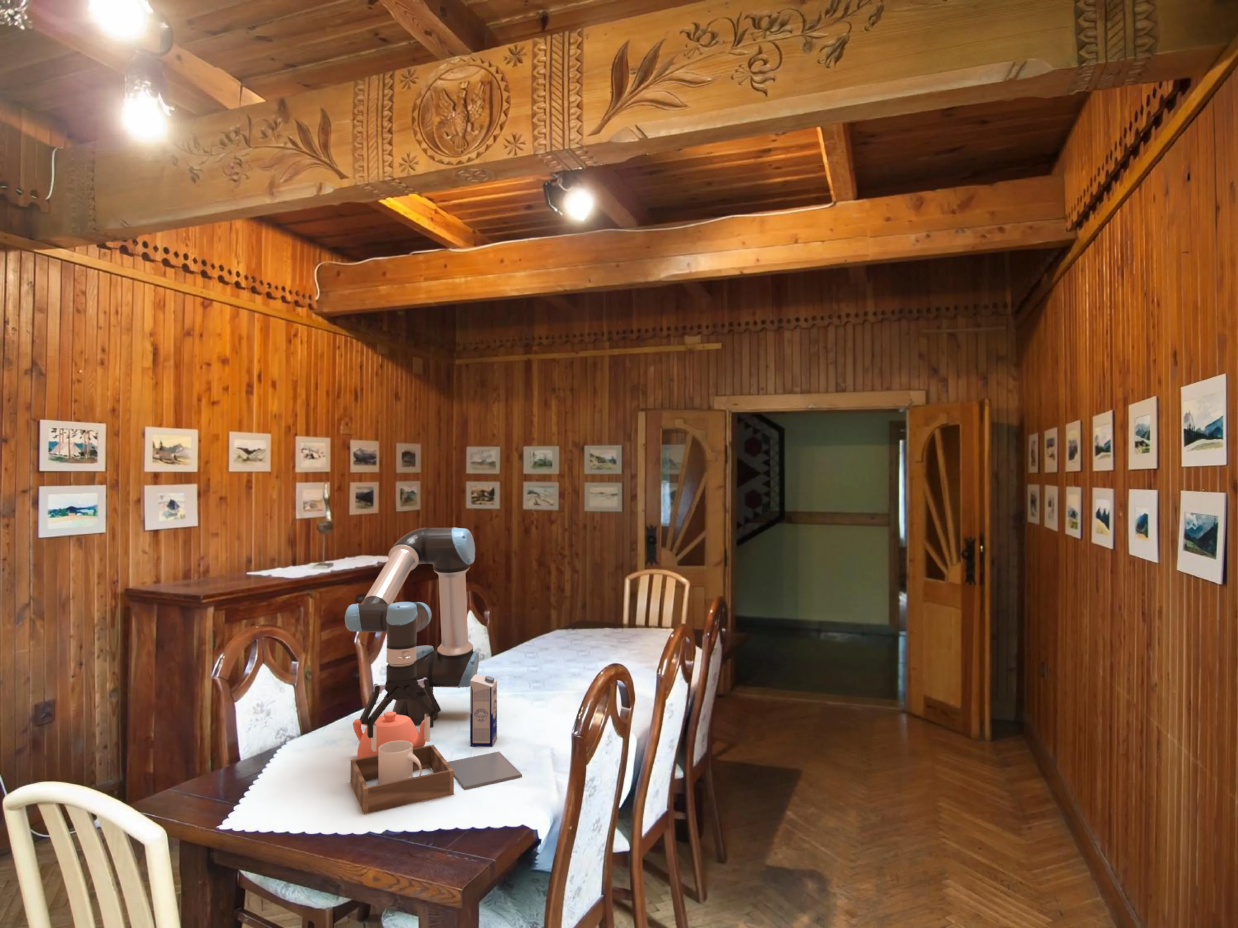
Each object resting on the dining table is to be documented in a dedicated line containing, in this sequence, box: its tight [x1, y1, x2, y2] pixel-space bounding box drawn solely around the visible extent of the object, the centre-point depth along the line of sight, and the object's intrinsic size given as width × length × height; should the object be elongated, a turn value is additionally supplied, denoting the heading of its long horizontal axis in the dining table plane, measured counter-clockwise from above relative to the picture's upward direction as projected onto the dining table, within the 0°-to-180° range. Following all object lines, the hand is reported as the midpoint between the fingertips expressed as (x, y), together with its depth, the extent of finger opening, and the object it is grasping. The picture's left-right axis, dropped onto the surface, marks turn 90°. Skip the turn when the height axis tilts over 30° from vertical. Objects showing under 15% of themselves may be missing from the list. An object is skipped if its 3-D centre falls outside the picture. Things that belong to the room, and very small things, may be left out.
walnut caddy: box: [349, 744, 455, 815], centre depth 187 cm, size 20×22×6 cm
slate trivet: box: [447, 751, 523, 791], centre depth 198 cm, size 18×16×1 cm
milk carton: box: [469, 673, 498, 748], centre depth 219 cm, size 7×7×20 cm
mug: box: [377, 740, 423, 785], centre depth 187 cm, size 9×12×11 cm
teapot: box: [352, 711, 427, 759], centre depth 205 cm, size 25×17×13 cm
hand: (400, 744), depth 187 cm, fingers open, 13 cm apart
